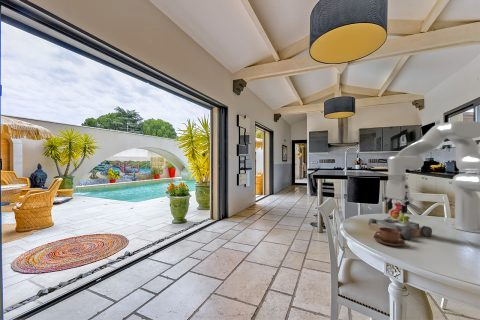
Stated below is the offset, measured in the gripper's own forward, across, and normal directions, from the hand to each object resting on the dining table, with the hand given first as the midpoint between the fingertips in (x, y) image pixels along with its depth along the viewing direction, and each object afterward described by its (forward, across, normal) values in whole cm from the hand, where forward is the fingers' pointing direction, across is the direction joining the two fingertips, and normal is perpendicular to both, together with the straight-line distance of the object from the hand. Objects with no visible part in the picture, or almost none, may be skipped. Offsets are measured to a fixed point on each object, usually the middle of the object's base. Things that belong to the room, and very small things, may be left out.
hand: (396, 210), depth 110 cm
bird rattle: (+6, -1, 0) cm, 6 cm away
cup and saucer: (+12, -10, +19) cm, 24 cm away
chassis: (+11, 0, -1) cm, 11 cm away
